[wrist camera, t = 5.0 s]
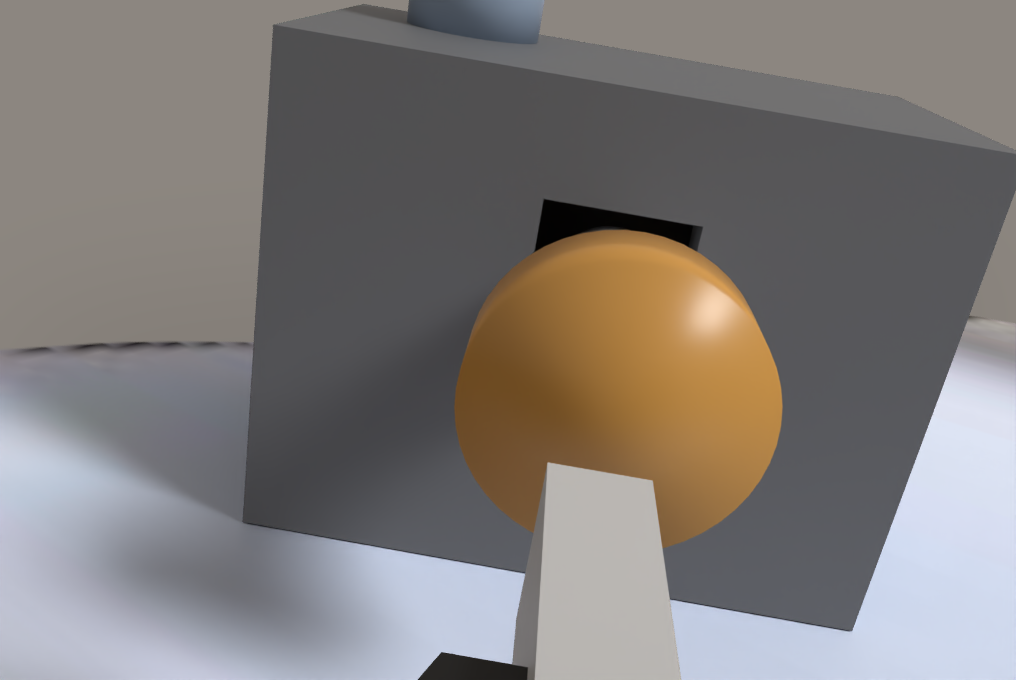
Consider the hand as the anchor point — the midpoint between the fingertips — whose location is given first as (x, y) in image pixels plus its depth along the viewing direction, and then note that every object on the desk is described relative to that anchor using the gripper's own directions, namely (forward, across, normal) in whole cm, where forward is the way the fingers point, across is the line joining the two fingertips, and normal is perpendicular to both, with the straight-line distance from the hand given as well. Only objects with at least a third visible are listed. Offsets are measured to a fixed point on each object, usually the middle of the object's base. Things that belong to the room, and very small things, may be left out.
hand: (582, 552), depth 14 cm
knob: (+8, +1, -3) cm, 9 cm away
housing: (+17, +1, -9) cm, 19 cm away
